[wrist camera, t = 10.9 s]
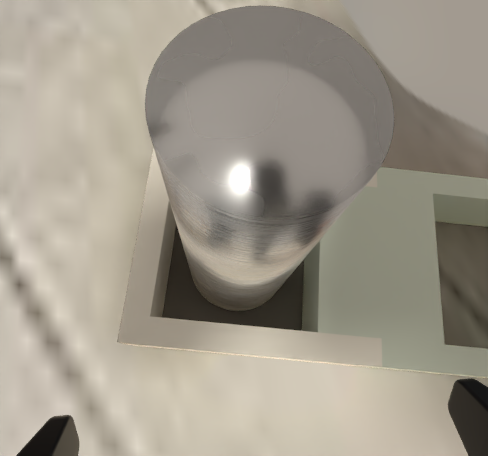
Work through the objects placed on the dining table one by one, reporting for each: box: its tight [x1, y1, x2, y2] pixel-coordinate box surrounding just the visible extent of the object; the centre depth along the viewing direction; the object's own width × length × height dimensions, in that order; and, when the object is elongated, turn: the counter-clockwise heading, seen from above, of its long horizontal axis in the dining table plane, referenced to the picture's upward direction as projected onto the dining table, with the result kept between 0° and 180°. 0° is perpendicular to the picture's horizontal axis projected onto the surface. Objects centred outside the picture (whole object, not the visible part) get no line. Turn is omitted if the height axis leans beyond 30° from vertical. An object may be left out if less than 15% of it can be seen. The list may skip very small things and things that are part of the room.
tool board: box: [117, 147, 488, 378], centre depth 17 cm, size 19×8×3 cm, turn 85°
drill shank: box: [145, 6, 394, 311], centre depth 13 cm, size 4×4×12 cm
